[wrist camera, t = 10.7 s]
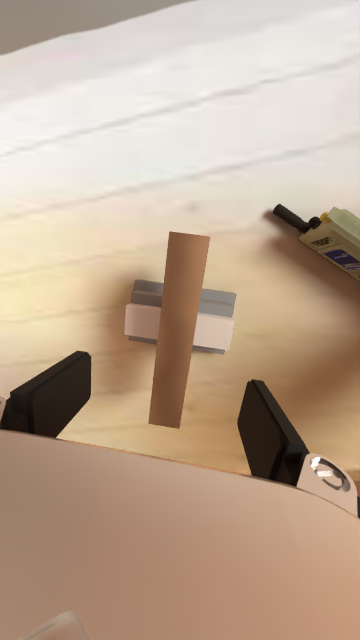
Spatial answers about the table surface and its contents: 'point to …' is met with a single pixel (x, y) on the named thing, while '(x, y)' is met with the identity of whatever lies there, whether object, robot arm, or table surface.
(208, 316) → the ridge stand
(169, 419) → the walnut bar
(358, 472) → the table surface
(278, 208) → the handheld radio
